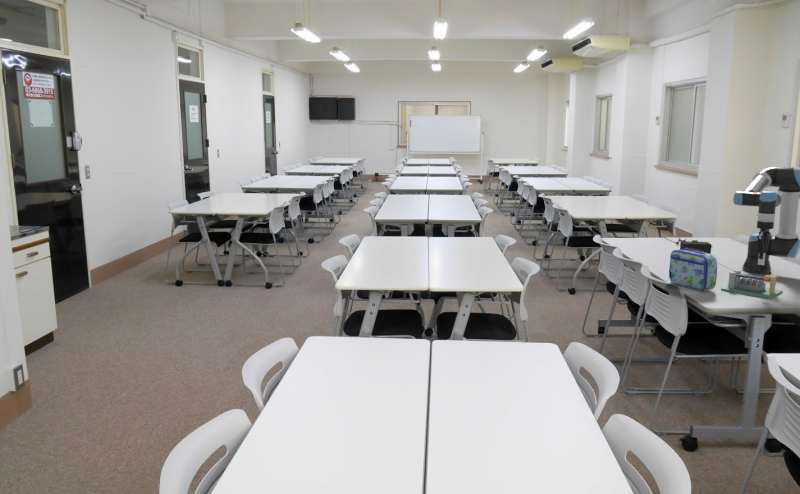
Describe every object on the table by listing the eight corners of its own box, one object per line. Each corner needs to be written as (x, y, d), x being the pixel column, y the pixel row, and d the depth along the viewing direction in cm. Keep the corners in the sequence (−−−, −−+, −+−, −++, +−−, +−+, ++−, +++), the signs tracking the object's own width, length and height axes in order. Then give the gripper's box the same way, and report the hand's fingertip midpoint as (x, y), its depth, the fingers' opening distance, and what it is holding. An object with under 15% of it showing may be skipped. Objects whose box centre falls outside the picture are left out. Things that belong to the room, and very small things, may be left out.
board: (734, 284, 338) (736, 266, 336) (782, 292, 320) (784, 274, 318) (721, 290, 326) (722, 272, 324) (770, 299, 308) (772, 280, 306)
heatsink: (742, 285, 330) (744, 276, 329) (765, 289, 322) (766, 279, 321) (736, 289, 324) (737, 279, 323) (758, 293, 316) (759, 283, 315)
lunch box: (665, 282, 343) (667, 246, 339) (679, 280, 347) (682, 245, 343) (701, 293, 319) (705, 255, 315) (717, 291, 323) (720, 253, 319)
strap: (738, 275, 329) (739, 271, 328) (771, 279, 317) (771, 275, 316) (735, 276, 326) (736, 272, 325) (768, 280, 314) (768, 276, 314)
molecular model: (670, 255, 415) (672, 233, 410) (689, 256, 410) (691, 234, 406) (670, 267, 393) (672, 244, 388) (691, 268, 389) (693, 245, 384)
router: (711, 275, 358) (714, 242, 354) (678, 274, 361) (681, 241, 358) (707, 272, 366) (710, 240, 362) (675, 271, 369) (678, 239, 365)
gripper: (762, 218, 320) (757, 261, 325) (753, 221, 312) (748, 265, 316) (777, 220, 315) (772, 263, 319) (769, 223, 306) (764, 267, 311)
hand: (760, 264), depth 318 cm, fingers closed
